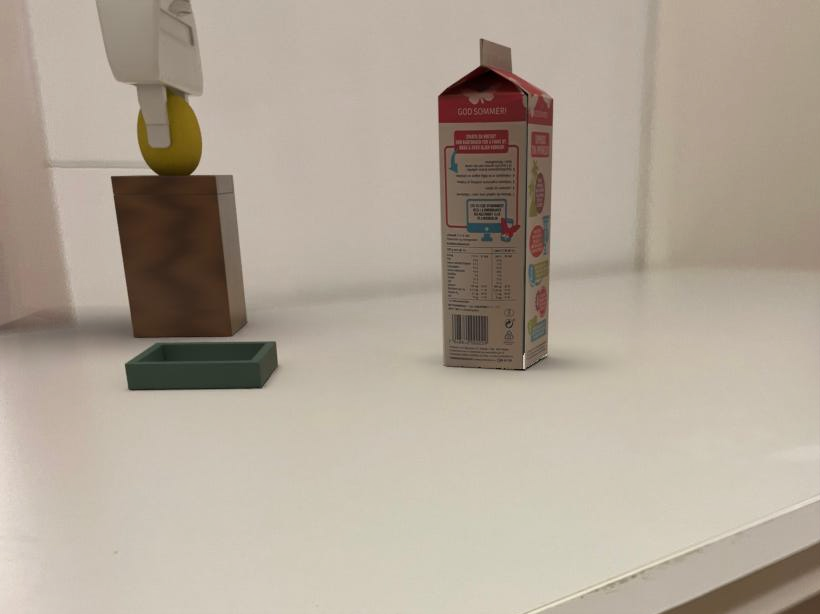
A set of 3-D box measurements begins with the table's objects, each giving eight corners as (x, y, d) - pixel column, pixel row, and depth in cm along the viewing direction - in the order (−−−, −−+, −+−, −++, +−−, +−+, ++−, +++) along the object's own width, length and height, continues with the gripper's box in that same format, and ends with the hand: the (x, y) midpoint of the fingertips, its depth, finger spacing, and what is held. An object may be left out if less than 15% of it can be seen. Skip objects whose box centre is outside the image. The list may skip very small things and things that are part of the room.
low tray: (128, 389, 71) (124, 363, 70) (159, 366, 79) (155, 342, 78) (261, 387, 71) (258, 361, 70) (278, 364, 80) (276, 341, 79)
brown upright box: (133, 337, 93) (110, 176, 87) (156, 323, 101) (136, 175, 95) (232, 336, 93) (215, 175, 88) (247, 322, 101) (232, 174, 96)
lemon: (138, 186, 93) (125, 88, 89) (199, 186, 95) (188, 89, 92) (150, 187, 88) (137, 83, 85) (213, 187, 91) (203, 85, 87)
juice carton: (443, 365, 79) (436, 40, 70) (471, 351, 85) (468, 49, 75) (524, 370, 77) (528, 36, 68) (547, 355, 83) (554, 46, 73)
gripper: (141, -15, 94) (161, 150, 100) (72, -60, 75) (102, 146, 81) (209, -15, 94) (226, 150, 100) (158, -59, 76) (182, 146, 81)
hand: (170, 148), depth 90 cm, fingers closed on lemon, 5 cm apart
